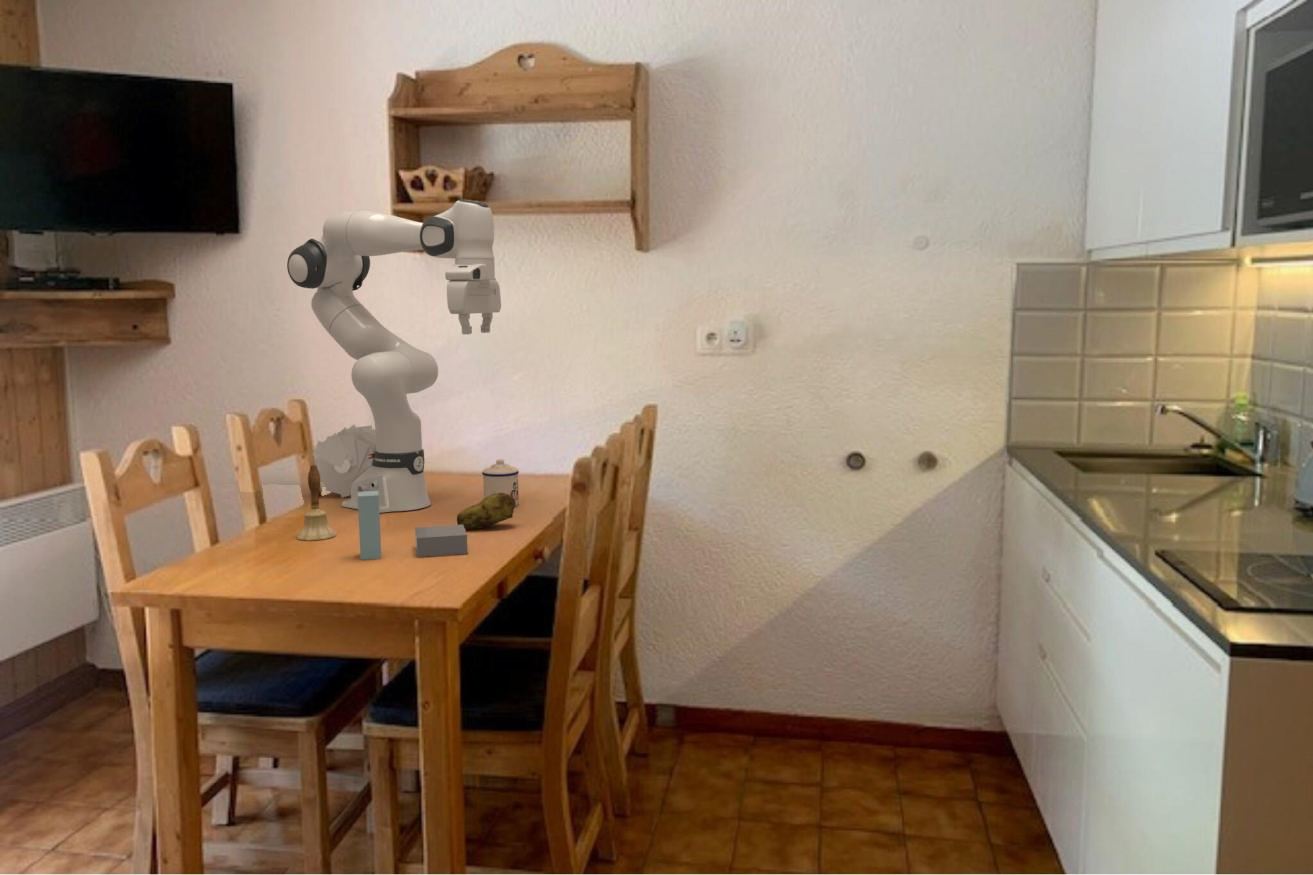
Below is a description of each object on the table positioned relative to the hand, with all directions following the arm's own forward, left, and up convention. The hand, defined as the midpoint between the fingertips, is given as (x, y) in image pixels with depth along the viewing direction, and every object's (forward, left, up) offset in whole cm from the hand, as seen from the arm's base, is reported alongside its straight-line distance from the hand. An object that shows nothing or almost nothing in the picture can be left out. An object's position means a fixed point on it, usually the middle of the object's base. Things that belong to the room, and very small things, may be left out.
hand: (476, 333), depth 239 cm
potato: (+5, -6, -44) cm, 45 cm away
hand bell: (-25, -28, -44) cm, 58 cm away
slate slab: (+8, -27, -44) cm, 52 cm away
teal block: (-2, -37, -44) cm, 57 cm away
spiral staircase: (-53, +18, -44) cm, 71 cm away
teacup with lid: (-7, +18, -44) cm, 48 cm away
